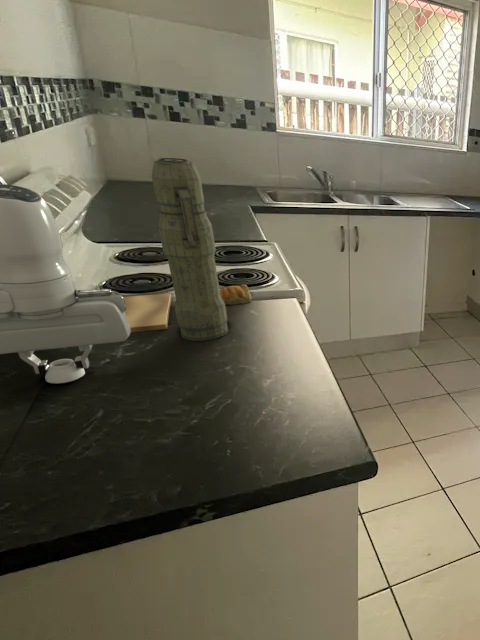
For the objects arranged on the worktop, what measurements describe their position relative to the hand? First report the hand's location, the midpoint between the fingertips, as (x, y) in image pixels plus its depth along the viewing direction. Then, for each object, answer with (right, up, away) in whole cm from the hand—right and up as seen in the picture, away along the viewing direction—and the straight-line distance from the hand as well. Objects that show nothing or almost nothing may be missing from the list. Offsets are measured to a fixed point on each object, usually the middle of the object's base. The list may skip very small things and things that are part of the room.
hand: (63, 369), depth 80 cm
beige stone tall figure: (+10, +6, +21) cm, 25 cm away
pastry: (+7, +14, +38) cm, 41 cm away
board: (-10, +10, +24) cm, 28 cm away
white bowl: (0, -2, +1) cm, 2 cm away
